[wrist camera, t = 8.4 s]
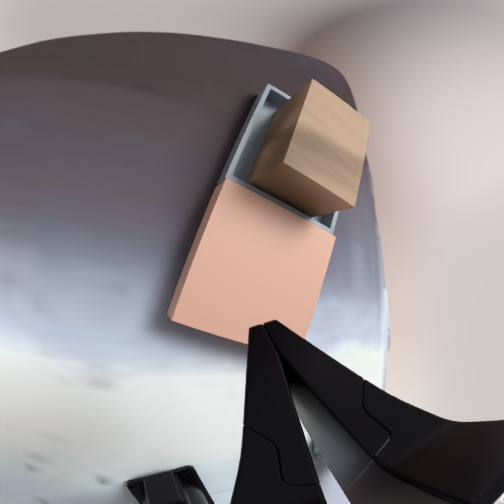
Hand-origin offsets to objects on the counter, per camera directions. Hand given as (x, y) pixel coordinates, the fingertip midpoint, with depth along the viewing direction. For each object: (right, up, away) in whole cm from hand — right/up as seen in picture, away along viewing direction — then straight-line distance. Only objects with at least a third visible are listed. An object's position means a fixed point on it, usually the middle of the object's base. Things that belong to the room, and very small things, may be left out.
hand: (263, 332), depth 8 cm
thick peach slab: (0, +1, +14) cm, 14 cm away
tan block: (+3, +6, +12) cm, 14 cm away
